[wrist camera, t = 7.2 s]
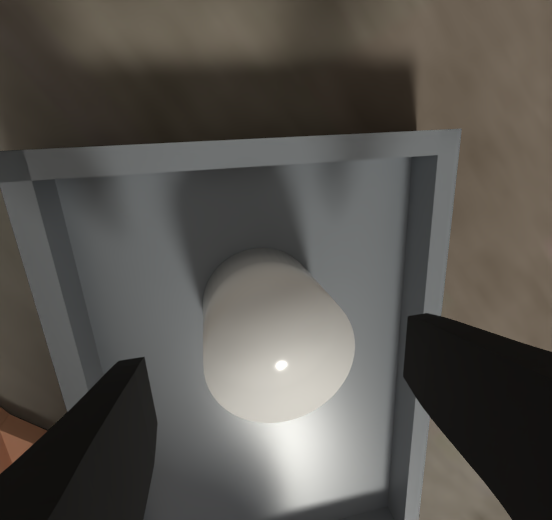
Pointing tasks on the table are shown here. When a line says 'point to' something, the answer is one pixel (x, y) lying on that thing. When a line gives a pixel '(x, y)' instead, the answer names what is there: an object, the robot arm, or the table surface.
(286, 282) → the white rounded capsule
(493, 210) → the table surface
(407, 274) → the parts tray
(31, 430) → the terracotta bowl
